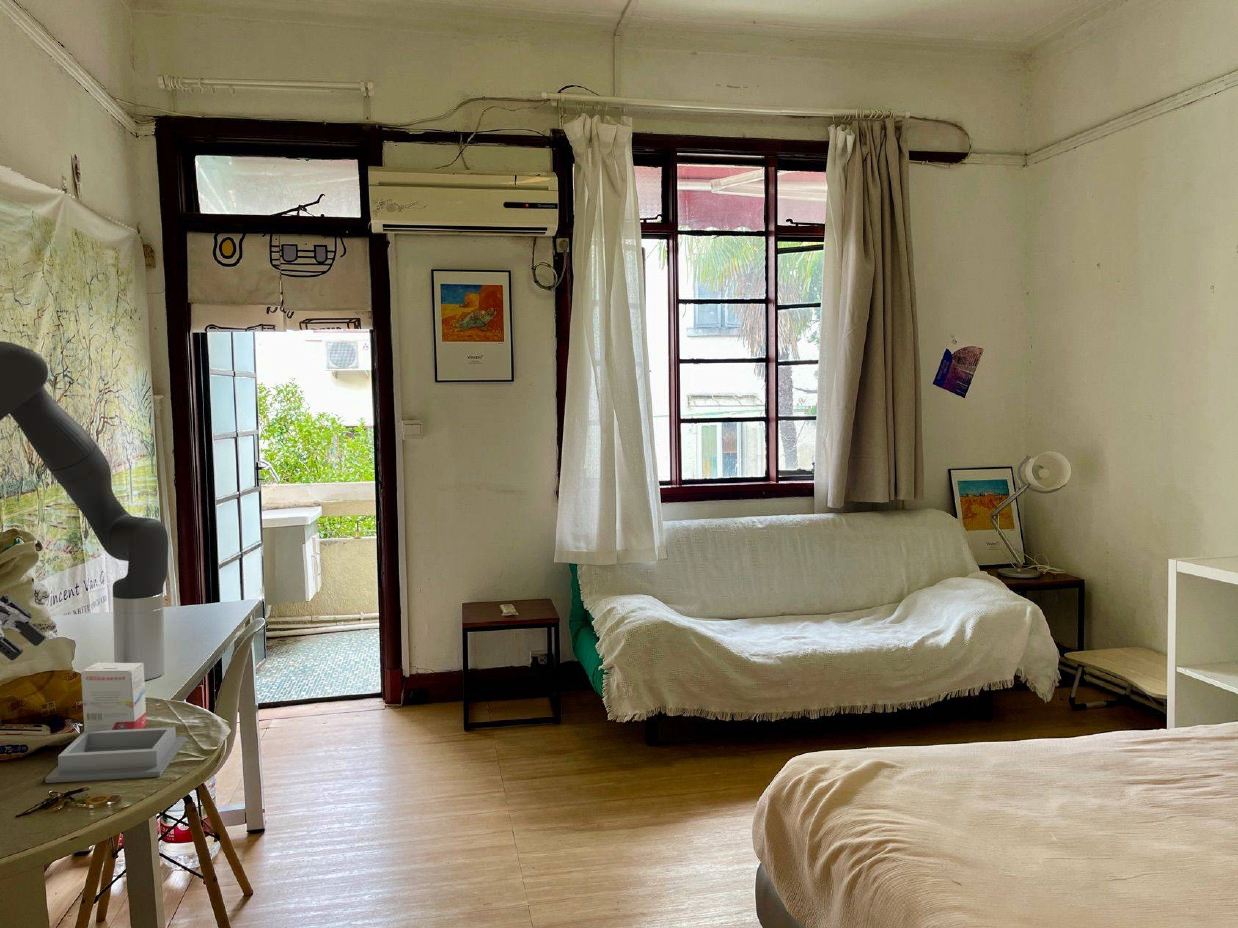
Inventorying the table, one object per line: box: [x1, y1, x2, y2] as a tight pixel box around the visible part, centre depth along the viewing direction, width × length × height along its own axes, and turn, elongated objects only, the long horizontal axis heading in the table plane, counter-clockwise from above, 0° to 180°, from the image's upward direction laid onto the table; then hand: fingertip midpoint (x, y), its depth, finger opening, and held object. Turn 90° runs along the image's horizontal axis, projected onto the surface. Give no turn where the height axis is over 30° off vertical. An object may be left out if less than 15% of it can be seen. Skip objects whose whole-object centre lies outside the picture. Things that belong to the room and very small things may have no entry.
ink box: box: [80, 662, 147, 732], centre depth 153 cm, size 9×5×12 cm, turn 93°
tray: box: [45, 726, 187, 784], centre depth 141 cm, size 14×16×3 cm
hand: (30, 648), depth 150 cm, fingers open, 8 cm apart
